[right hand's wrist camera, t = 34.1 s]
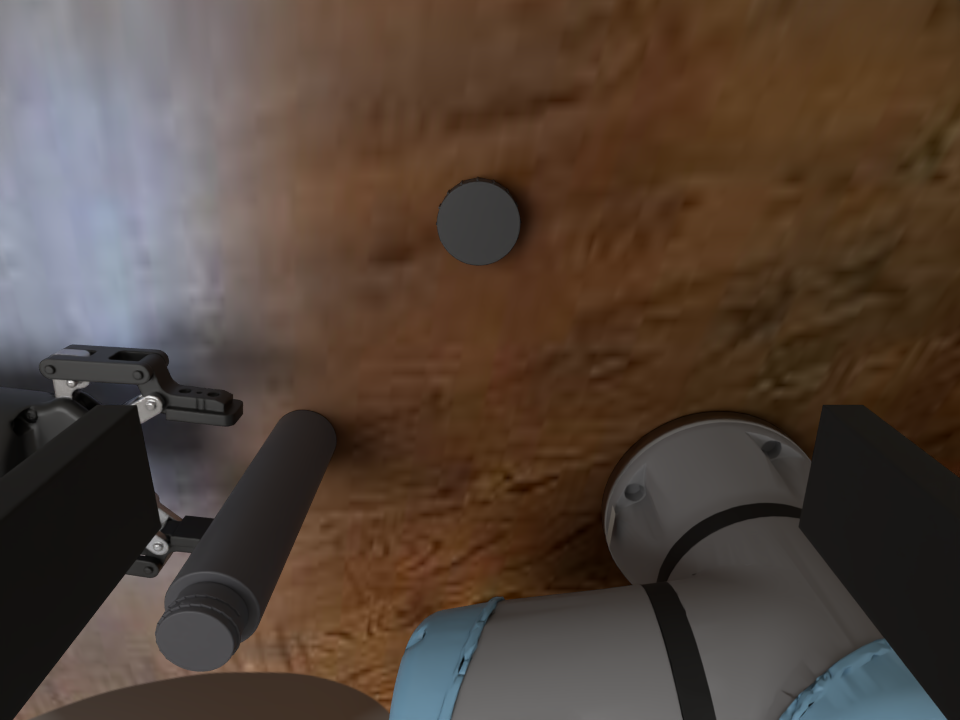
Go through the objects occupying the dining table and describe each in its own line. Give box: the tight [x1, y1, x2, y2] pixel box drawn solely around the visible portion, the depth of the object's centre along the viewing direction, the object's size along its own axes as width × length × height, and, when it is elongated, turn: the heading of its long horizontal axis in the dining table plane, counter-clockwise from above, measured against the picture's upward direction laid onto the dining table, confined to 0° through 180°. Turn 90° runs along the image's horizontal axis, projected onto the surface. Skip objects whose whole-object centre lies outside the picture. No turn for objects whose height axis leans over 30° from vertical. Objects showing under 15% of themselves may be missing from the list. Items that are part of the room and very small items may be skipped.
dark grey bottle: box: [155, 410, 336, 671], centre depth 37 cm, size 4×4×19 cm
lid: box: [436, 177, 521, 265], centre depth 40 cm, size 5×5×2 cm
